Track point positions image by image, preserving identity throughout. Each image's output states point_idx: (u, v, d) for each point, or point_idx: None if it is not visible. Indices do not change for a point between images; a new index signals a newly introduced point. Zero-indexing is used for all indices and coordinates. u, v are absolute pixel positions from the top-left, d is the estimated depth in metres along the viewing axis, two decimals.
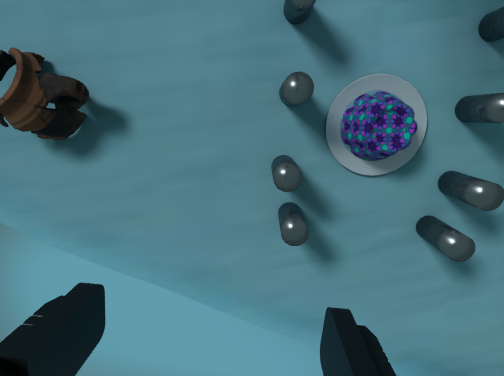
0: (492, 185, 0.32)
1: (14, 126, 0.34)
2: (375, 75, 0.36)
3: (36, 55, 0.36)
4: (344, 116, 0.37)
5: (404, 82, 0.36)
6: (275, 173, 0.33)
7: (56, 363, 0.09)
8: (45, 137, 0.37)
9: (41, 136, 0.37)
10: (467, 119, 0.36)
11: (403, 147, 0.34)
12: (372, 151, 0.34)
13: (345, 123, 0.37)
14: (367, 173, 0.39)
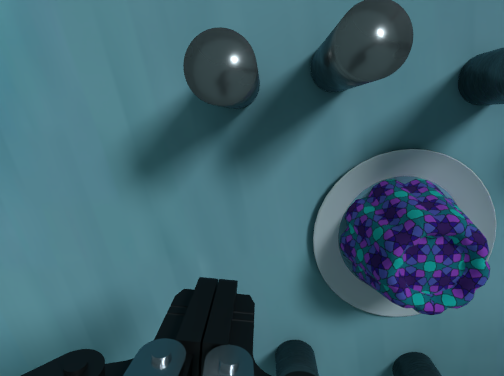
0: None
1: None
2: (493, 228, 0.21)
3: None
4: (425, 182, 0.20)
5: None
6: (389, 4, 0.12)
7: None
8: None
9: None
10: None
11: (396, 295, 0.17)
12: (388, 239, 0.17)
13: (414, 184, 0.20)
14: (316, 231, 0.21)
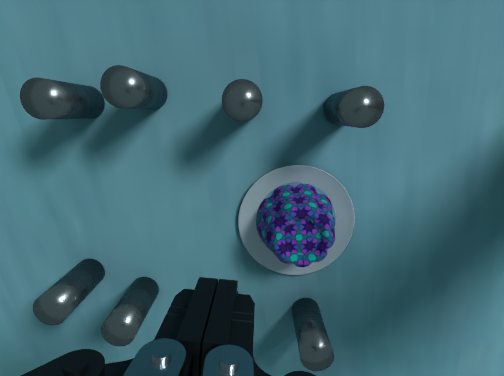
0: (131, 333, 0.28)
1: None
2: (352, 212, 0.32)
3: None
4: (306, 185, 0.31)
5: (345, 244, 0.33)
6: (125, 68, 0.23)
7: None
8: None
9: None
10: None
11: (280, 256, 0.28)
12: (272, 222, 0.28)
13: (298, 187, 0.31)
14: (240, 221, 0.32)
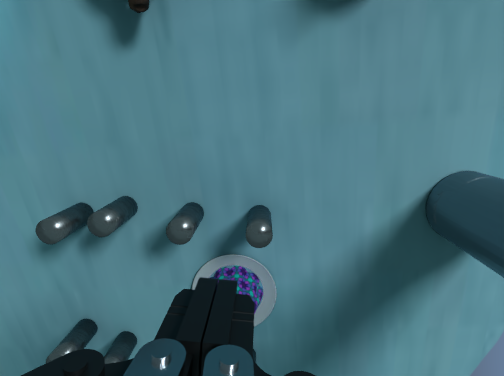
0: None
1: None
2: (274, 284, 0.44)
3: None
4: (238, 267, 0.43)
5: (272, 306, 0.45)
6: (103, 213, 0.35)
7: None
8: None
9: None
10: None
11: None
12: None
13: (232, 270, 0.43)
14: None
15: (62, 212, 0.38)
